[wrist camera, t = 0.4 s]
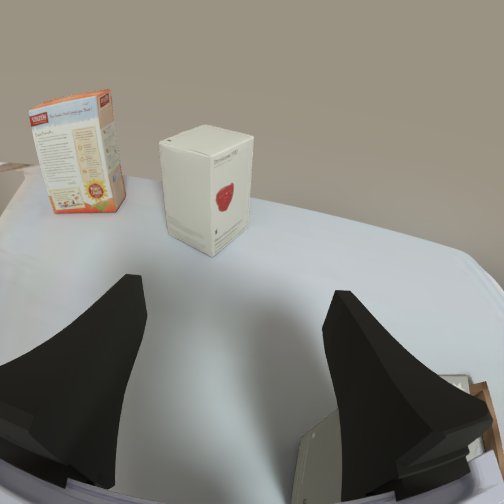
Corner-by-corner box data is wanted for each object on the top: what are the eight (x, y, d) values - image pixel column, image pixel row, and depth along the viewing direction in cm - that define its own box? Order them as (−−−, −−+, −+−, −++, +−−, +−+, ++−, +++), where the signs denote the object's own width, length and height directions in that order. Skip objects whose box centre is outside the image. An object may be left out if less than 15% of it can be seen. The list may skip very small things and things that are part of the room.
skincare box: (299, 437, 24) (360, 359, 13) (370, 441, 23) (471, 364, 12) (286, 520, 17) (351, 533, 7) (364, 520, 17) (485, 505, 6)
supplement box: (212, 259, 41) (209, 156, 31) (167, 235, 44) (155, 141, 34) (250, 227, 47) (256, 135, 37) (205, 208, 50) (203, 122, 40)
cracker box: (127, 195, 52) (112, 86, 39) (116, 214, 48) (95, 95, 34) (67, 197, 52) (46, 99, 38) (53, 214, 47) (26, 110, 34)
